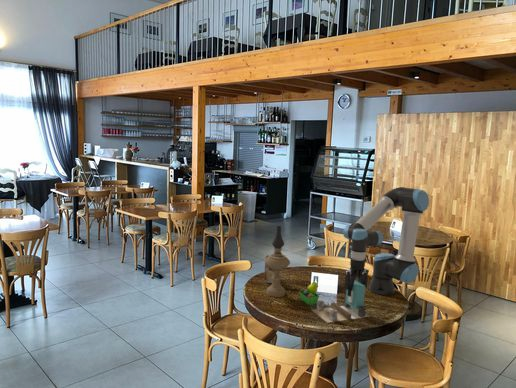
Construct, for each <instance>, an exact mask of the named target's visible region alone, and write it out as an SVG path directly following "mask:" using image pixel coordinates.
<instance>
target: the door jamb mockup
mask: <svg viewBox="0 0 516 388" xmlns="http://www.w3.org/2000/svg"><path fill="white" fill-rule="evenodd" d="M343 298H344V299H343V305H339V304H337V303H336V302H330V307H329V306H328V307H325V300H323V299H320V300H319V299H318V301H317V304H316V308H314V309H311V311H312V312H313V313H314V314H315V315H317V316H318V317H320V319H322V320H323V321H324V322H325V323H327V324H328V323H335V322H341V321H348V320H355V319H361V318H371V315H370V314H369V313H366V310H367V308H366V306H359V308H358V309H355V308H353V307H352V306H350V305H349V304H347V303H346V296H345V297H343Z"/></svg>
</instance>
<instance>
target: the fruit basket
mask: <svg viewBox="0 0 516 388" xmlns="http://www.w3.org/2000/svg"><path fill="white" fill-rule="evenodd" d="M318 287H319V285H318V282H316V281H313V282H312V283H311V284H309V285H308V286H307V289H301V290H300V289H299V291H298V292H299V296H300V300H301V301H302V302H304V304H306V305H308V306H309V305H317V301H318V300H319V298H320V295H319V294H317V292H318Z"/></svg>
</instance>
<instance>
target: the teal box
mask: <svg viewBox="0 0 516 388" xmlns="http://www.w3.org/2000/svg"><path fill="white" fill-rule="evenodd" d="M352 290H353V299H352V303H350V302H349V301H348V290H347V289H346V295H345V297H346V303H347V304H349V305H350V306H352V307H353V308H355V309H358V308H359V306H364V305H365V294H366V293H365V292H366V288H365V285H363V284H361V283H359V281H358V280H356V279H355V281H354V285H353V288H352Z"/></svg>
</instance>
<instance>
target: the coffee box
mask: <svg viewBox="0 0 516 388" xmlns="http://www.w3.org/2000/svg"><path fill="white" fill-rule="evenodd" d="M269 255H270V254H269ZM269 255H268V254H267V255H266V256H265V258H264V260H265V259H266V258H267V257H268V256H269ZM279 274H280V275H281V271H280V272H279ZM273 275H274V270H273V269H272V268H270V267H268V266H267V265H266V264H265V263H264V278H263V279H264V280H263V281H264V283H268V284H272V279H271V277H272V276H273Z"/></svg>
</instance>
